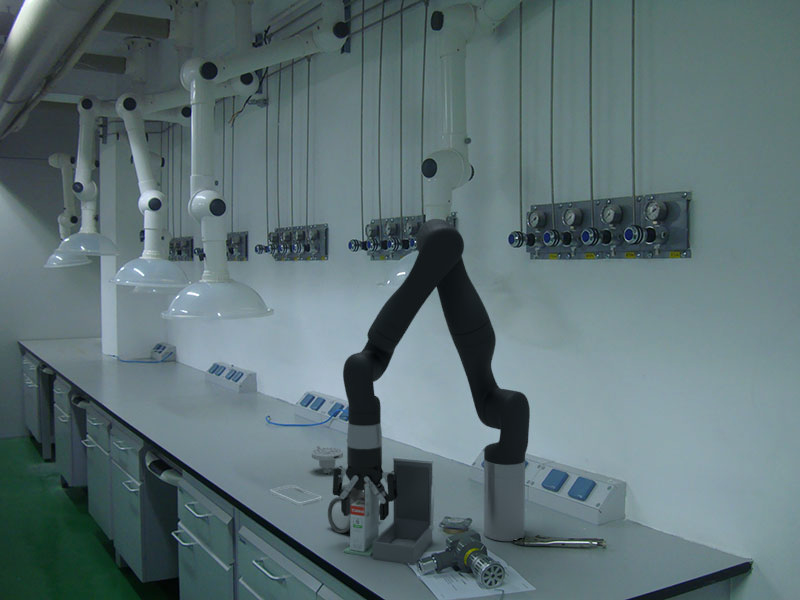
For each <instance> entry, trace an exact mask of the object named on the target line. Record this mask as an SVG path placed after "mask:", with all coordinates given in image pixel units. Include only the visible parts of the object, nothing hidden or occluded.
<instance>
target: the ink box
mask: <svg viewBox="0 0 800 600" xmlns="http://www.w3.org/2000/svg"><path fill="white" fill-rule="evenodd" d="M363 492H364V496H363V497H361V498H360V499H358V500H357V501H356V502H354V503H353V504H351V515H350V531H349V535H350V536H349V546H350V550H354V551H361V552H364V551H366V550H367V549H368V548H369V547H370V546H371V545H372V544H373V541H374V540H375V539H376V538H377V537H378V536H379V535H380V534H379V533H380V532H379V531H380V529H379V527H380V526H379V523H380V522H379V521H380V515H379V505H380V503H379V502H380V500H379V499H378V497H377V496H376V495H374V493H373V492H372V490H371V489H370V488H369V483H368V482H367V483H365V484H364V490H363Z"/></svg>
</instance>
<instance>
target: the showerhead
mask: <svg viewBox="0 0 800 600" xmlns="http://www.w3.org/2000/svg"><path fill="white" fill-rule="evenodd" d="M316 448H317V449H315V450H313V451H311V458H312V459H314V460H316V461H318V462H319V464H318V465H319V468H321V469H323V473H324V474H326V473H328V474H331V473H332V468H335V467H336V460H340V459H341V458H343V456H344V452H343V450H342V449H341V448H340V449H339V448H336V447H323V448H321V446H319V445H317V446H316ZM330 472H331V473H330Z"/></svg>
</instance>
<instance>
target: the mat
mask: <svg viewBox="0 0 800 600" xmlns="http://www.w3.org/2000/svg"><path fill="white" fill-rule="evenodd" d="M343 553H345V554H351V555H359V556H365V557H371V556H373V544H372V545H371V546H370V547H369V548H368V549H367V550H366V551H364V552H361V551H354V550H350V545H349V546H347V547H345V549H344V550H343Z"/></svg>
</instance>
